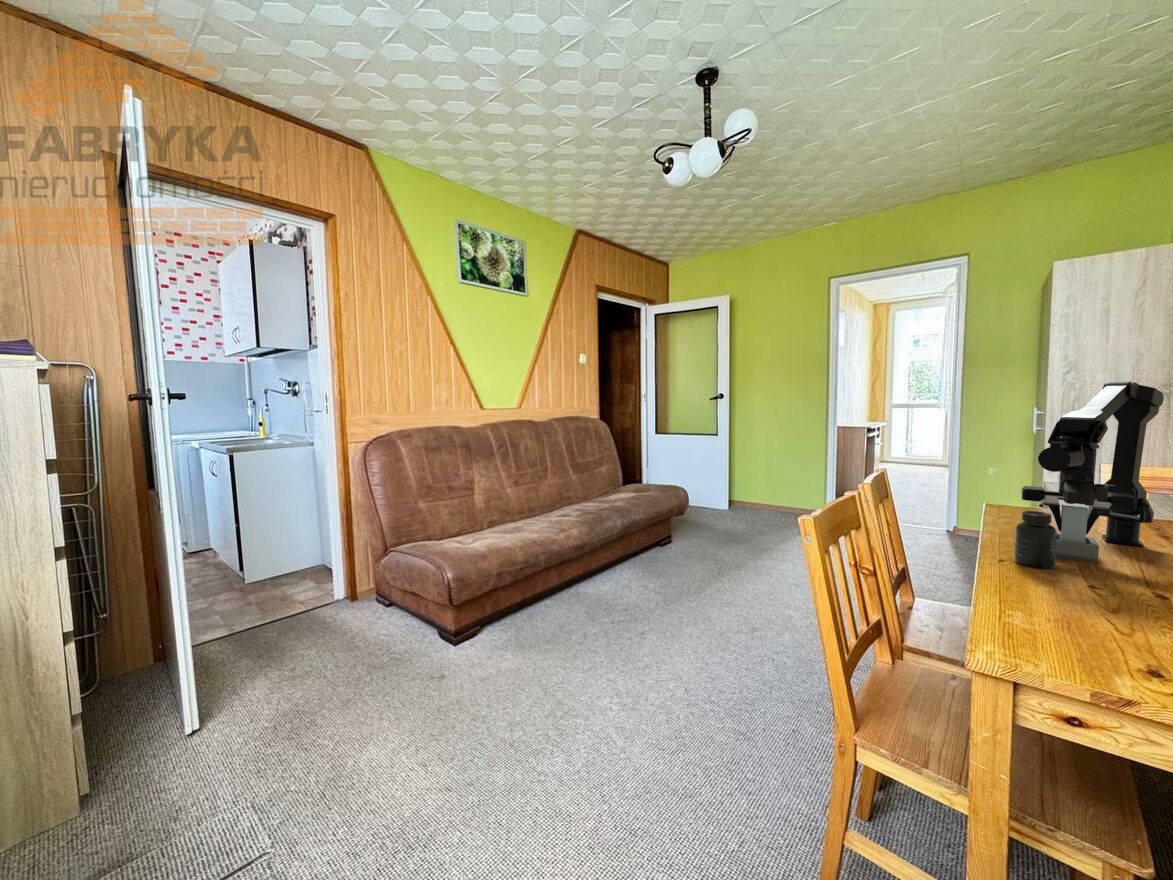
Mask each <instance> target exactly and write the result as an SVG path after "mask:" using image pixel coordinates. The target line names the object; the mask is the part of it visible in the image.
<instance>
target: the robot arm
mask: <svg viewBox="0 0 1173 880" xmlns="http://www.w3.org/2000/svg"><path fill="white" fill-rule="evenodd" d="M1164 397H1165V396H1164V393H1163V392H1162V391H1160V390H1159V389H1157V388H1156V387H1151V386H1148V385H1142V384H1138V382H1133V381H1110V382H1105V383H1104V384H1103V386H1102V389H1101V390H1100V391H1099V392H1098V393H1097V394H1096V395H1095V396H1094V397H1093V398H1092V399H1091V400H1089V402H1087V404H1085V405H1084V406H1083V407H1082V408H1079V409H1076V410H1072V411H1069V412H1067V413H1066V414H1064V415H1062V416H1061V417H1060V418H1059V419H1058V420H1057V422H1056V423H1055V425H1054V427H1053V429H1052V431H1051V433H1050V436H1049V438H1048V440H1047V444H1049V447H1046V448H1045V449H1042V451H1041V452H1039V455H1038V456H1037V460H1038V463H1039V465H1040V467H1042V469H1044V470H1046V471H1048V472H1051V473H1058V472H1059V480H1058V482H1059V483H1058V491H1053V490H1052V491H1050V490H1045V489H1044V487H1043V486H1031V485H1025V486H1023V487H1022V488H1021V496H1020V497H1021V500H1023V501H1027V502H1030V501H1031V502H1039V503H1040V502H1041V504H1042V505H1043V506H1048V507H1049V509H1050V512H1051V513H1052V515H1053V519H1054V521H1055V523H1056V527H1057V530H1058V532H1060V531H1061V528H1062V523H1061V504H1060V503H1059V501H1063V502H1065V503H1064V504H1073V505H1084V506H1087V508H1088V516H1087V529H1086V536H1087V535H1088V534H1089V533H1090V531H1091V530H1092V528H1093V526H1094V525H1095V523H1096V521H1097V519H1098V518H1099V517H1106V518H1107V519H1106V528H1105V529H1106V531H1105V534H1101V537H1102V539H1103V540H1104V542H1105V543H1110V544H1111V543H1112V544H1121V545H1129V546H1134V547H1145V544H1144V543H1143V542H1142V541H1141V540H1140V536H1141V525H1142V524H1145V523H1147V524H1152V523H1153V519H1154V518H1155V517H1154V516H1155V515H1154V514H1155V513H1154V509H1152V508H1153V507H1152V506H1151V504H1150V502H1149V500H1148V499H1147V498H1148V497H1147V496H1148V493H1147V491H1146V489H1145V488H1144V486H1143V485H1142V484H1141V482H1140V481H1139V480H1140V474H1141V473H1140V472H1141V467H1142V459H1143V453H1144V444H1145V440H1146V439H1145V438H1146V431H1147V424H1148V423H1149V422H1151V421H1152V420H1153V419H1154V418H1155V417H1156V416H1157V415H1158V414H1159V412H1160V407H1162V406H1163V404H1164ZM1112 416H1113V417H1114V418H1115V419H1116V421H1117V431H1116V438H1115V445H1114V453H1113V458H1112V459H1113V460H1112V467H1111V468H1112V469H1111V473H1110V474H1111V475H1110V478H1109V479H1108V480H1107V481H1106V482H1105V483H1095V477H1096V476H1095V475H1096V474H1095V473H1096V463H1097V451H1098V449H1100V445H1099V444H1100V442H1101V441H1102V440H1103V438H1104V436H1105V435H1106V433H1107V432H1108V430H1109V429H1108V426H1107V421H1108V420H1109V419H1110V418H1111V417H1112Z"/></svg>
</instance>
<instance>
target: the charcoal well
mask: <svg viewBox="0 0 1173 880" xmlns="http://www.w3.org/2000/svg"><path fill="white" fill-rule="evenodd" d="M1059 538H1060V533H1057V541H1056V558H1058V559H1065V560H1072V561H1079V562H1088V563H1091V564H1092V563H1093V564H1099V554H1100V553H1099V551H1100V546H1099V544H1098V542H1097V541H1096V539H1095V538H1094V537H1089V536H1086V542H1085V543H1077V542H1069V541H1062V540H1059Z"/></svg>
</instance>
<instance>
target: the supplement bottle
mask: <svg viewBox="0 0 1173 880" xmlns="http://www.w3.org/2000/svg"><path fill="white" fill-rule="evenodd" d="M1021 516H1022V517H1021V520H1022V522H1019V523H1018V524H1017V525H1016V526H1015V537H1014V538H1015V543H1014V544H1015V545H1014V561H1015V562H1016V563H1017V564H1018V565H1022V566H1025V567H1029V568H1034V569H1039V570H1040V569H1042V570H1047V569H1048V570H1049V569H1053V568H1055V566H1056V558H1057V557H1056V541H1057V532H1058V531H1057V529H1056V528H1055V527H1054V526H1053V525H1051V524H1052V523H1053V521H1052V514H1051V513H1049V512H1044V511H1043V512H1042V511H1035V510H1023V511H1022V515H1021Z"/></svg>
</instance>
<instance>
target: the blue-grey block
mask: <svg viewBox="0 0 1173 880" xmlns="http://www.w3.org/2000/svg"><path fill="white" fill-rule="evenodd" d="M1088 508H1089V507H1088V506H1087V505H1084V504H1068V503H1061V509H1060V514H1061V523H1062V528H1061V531H1059V534H1060V538H1059V540H1062V541H1069V542H1077V543H1085V542H1086V537H1087V535H1086V529H1087V516H1088Z"/></svg>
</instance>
